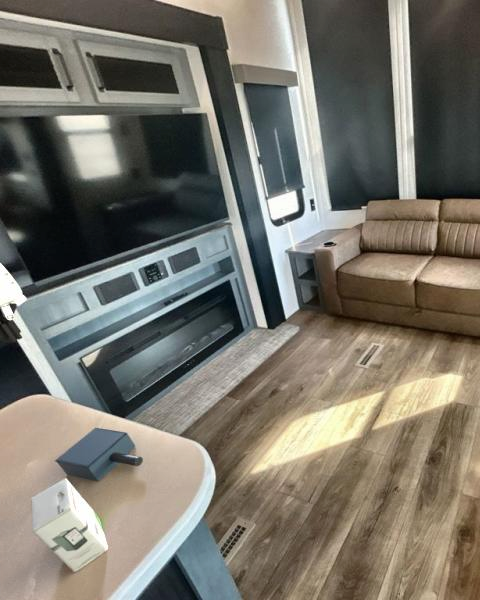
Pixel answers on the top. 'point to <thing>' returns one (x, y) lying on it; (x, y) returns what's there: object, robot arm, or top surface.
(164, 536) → the top surface
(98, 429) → the dustpan
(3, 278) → the robot arm
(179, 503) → the top surface
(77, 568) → the ink box
